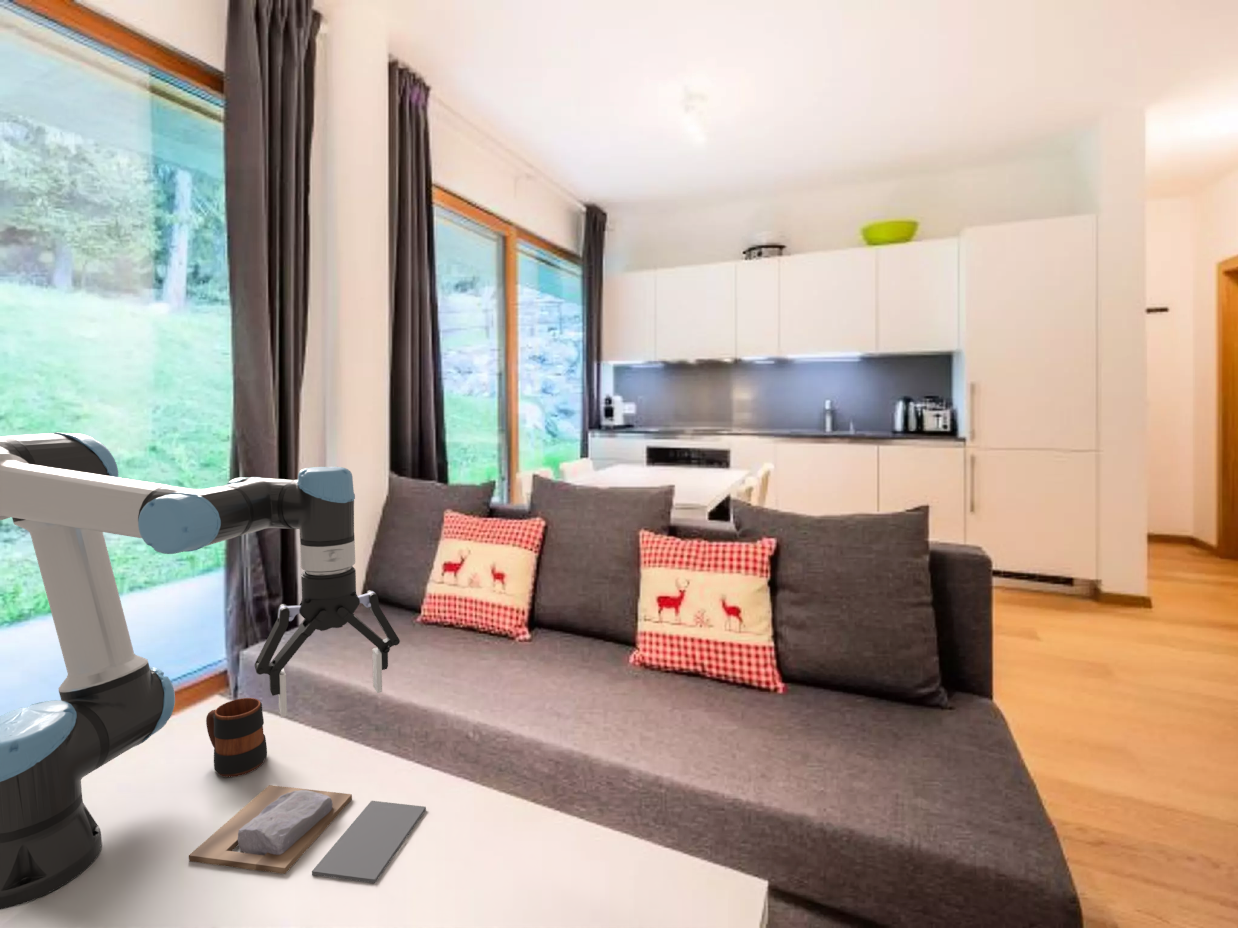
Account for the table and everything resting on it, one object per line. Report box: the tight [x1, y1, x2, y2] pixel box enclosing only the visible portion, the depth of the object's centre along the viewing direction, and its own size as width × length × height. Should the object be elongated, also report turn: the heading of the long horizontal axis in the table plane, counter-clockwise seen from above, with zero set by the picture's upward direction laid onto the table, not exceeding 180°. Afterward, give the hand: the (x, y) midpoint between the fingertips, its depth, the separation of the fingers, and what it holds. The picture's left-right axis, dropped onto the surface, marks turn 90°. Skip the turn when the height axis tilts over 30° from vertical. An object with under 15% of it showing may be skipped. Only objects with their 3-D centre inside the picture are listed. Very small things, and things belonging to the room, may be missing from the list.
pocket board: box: [188, 784, 353, 875], centre depth 99 cm, size 16×17×1 cm
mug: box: [205, 697, 268, 778], centre depth 116 cm, size 9×12×12 cm
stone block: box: [238, 789, 332, 855], centre depth 98 cm, size 12×5×10 cm
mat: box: [311, 800, 427, 884], centre depth 96 cm, size 10×16×1 cm, turn 172°
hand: (332, 700), depth 95 cm, fingers open, 13 cm apart
